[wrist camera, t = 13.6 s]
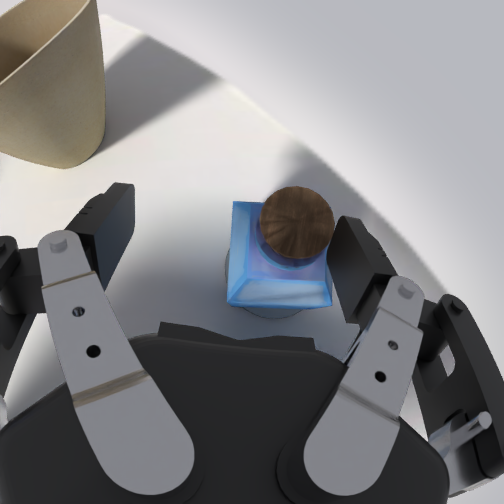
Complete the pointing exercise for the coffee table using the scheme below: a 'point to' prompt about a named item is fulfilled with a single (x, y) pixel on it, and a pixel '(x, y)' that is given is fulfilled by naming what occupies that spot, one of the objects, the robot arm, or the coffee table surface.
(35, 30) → the plant pot
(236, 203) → the perfume bottle
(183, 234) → the coffee table surface
